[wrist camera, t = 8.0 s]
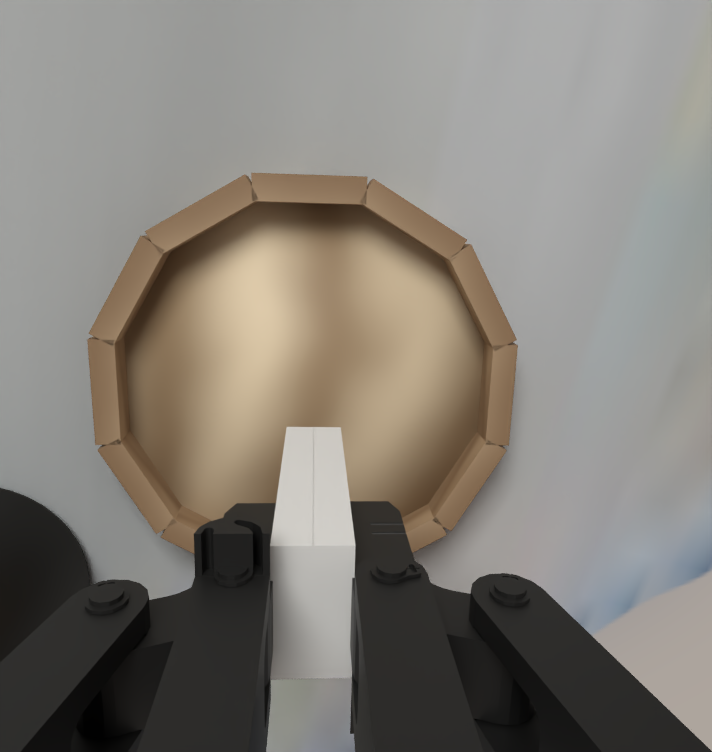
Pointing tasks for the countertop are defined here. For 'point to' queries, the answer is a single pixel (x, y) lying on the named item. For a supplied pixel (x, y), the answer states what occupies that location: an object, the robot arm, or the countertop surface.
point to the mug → (34, 567)
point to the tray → (301, 354)
